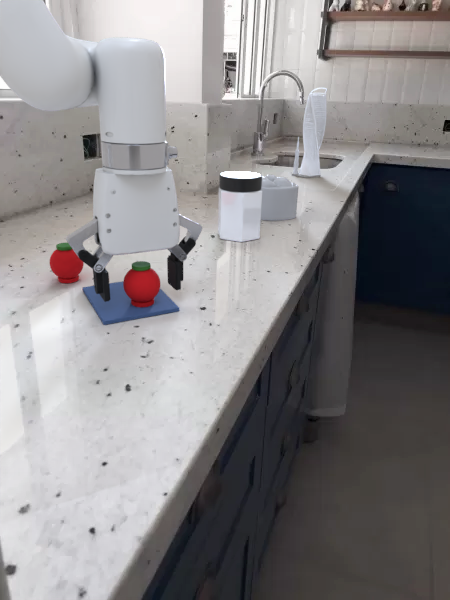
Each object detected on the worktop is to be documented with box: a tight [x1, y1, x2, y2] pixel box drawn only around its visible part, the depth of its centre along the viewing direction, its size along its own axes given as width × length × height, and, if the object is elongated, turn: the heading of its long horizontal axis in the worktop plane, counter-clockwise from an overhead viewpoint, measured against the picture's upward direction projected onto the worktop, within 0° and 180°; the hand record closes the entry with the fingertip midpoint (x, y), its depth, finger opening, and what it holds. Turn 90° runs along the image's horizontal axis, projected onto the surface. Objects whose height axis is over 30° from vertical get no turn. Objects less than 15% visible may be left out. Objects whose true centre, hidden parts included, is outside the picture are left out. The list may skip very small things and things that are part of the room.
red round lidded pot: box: [123, 260, 161, 307], centre depth 63 cm, size 5×5×5 cm
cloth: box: [82, 280, 180, 326], centre depth 66 cm, size 10×12×1 cm
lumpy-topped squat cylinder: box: [261, 174, 299, 221], centre depth 111 cm, size 10×13×9 cm
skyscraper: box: [291, 86, 328, 179], centre depth 161 cm, size 8×8×28 cm
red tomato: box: [49, 242, 85, 284], centre depth 71 cm, size 5×5×6 cm
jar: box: [217, 170, 263, 243], centre depth 94 cm, size 9×8×12 cm
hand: (140, 291), depth 64 cm, fingers open, 9 cm apart
